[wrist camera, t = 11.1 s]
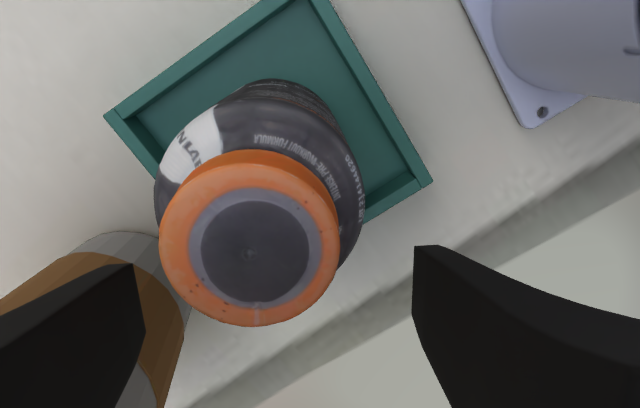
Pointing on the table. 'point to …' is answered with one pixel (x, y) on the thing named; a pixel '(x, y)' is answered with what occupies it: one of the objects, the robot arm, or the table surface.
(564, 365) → the robot arm
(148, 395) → the coffee cup
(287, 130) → the pill bottle
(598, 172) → the table surface
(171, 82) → the tray
